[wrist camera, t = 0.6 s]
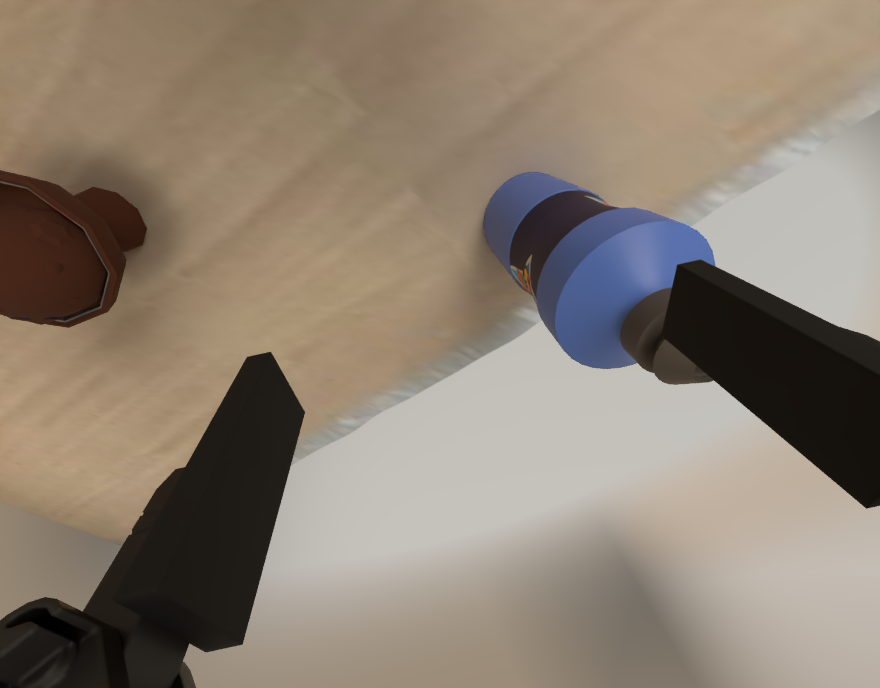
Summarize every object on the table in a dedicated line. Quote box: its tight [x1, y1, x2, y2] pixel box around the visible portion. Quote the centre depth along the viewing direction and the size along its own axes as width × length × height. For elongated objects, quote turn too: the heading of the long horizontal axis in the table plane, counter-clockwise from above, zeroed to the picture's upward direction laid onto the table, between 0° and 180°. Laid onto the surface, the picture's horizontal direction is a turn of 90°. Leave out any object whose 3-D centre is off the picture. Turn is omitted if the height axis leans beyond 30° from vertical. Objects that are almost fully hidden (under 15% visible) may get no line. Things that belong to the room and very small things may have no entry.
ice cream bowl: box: [0, 170, 147, 328], centre depth 25 cm, size 11×11×15 cm
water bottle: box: [484, 172, 715, 385], centre depth 26 cm, size 9×9×25 cm
